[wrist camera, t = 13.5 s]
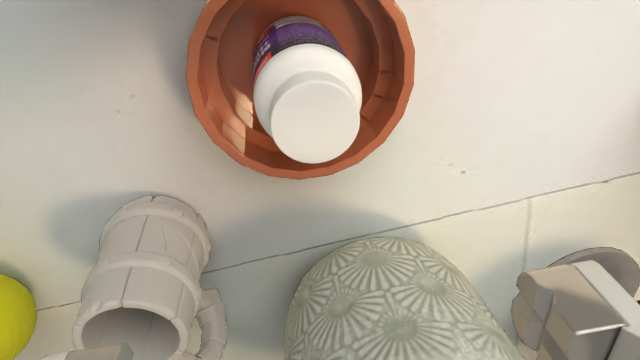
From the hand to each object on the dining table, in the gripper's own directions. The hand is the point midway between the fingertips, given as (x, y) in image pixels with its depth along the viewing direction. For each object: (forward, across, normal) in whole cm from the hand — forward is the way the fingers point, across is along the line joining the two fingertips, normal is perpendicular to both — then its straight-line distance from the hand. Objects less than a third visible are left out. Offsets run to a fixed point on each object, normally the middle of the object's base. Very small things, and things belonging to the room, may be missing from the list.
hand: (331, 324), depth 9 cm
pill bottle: (+21, -1, +1) cm, 21 cm away
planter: (+21, -5, +22) cm, 31 cm away
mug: (+22, +10, +15) cm, 28 cm away
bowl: (+22, -1, +1) cm, 22 cm away
